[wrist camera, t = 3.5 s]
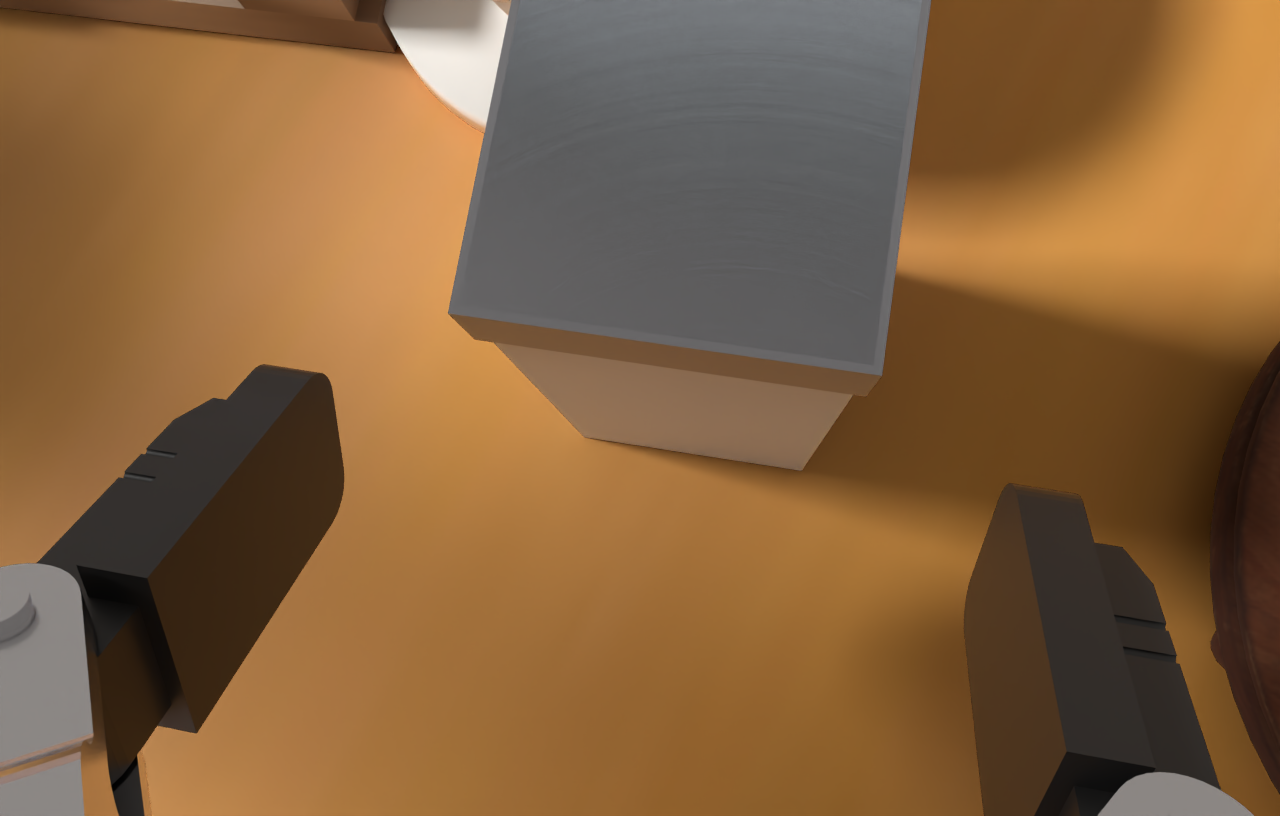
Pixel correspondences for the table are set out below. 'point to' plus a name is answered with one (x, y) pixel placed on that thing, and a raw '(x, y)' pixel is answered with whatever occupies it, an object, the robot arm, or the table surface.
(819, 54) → the grey-topped square post
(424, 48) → the white round piece
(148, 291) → the table surface
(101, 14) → the channel block
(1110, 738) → the robot arm
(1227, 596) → the scroll
